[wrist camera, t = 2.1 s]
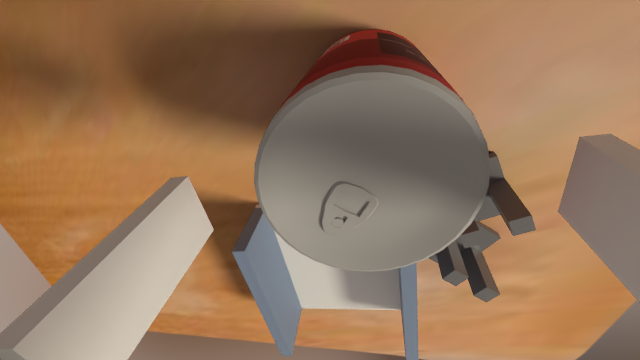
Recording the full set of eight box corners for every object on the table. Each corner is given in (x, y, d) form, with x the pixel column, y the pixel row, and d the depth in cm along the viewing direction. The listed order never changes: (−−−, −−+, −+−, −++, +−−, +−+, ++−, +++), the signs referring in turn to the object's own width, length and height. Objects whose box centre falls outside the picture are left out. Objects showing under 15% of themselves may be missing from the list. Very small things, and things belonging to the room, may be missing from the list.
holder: (256, 204, 25) (231, 251, 20) (406, 194, 22) (416, 246, 18) (294, 304, 32) (281, 355, 28) (410, 305, 29) (418, 363, 25)
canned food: (301, 139, 21) (248, 251, 12) (318, 14, 17) (255, 42, 7) (404, 160, 21) (432, 292, 12) (450, 40, 16) (552, 102, 7)
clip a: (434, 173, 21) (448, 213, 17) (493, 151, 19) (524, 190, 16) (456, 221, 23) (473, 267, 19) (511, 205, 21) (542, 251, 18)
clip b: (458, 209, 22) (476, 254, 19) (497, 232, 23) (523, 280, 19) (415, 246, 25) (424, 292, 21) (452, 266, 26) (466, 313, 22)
